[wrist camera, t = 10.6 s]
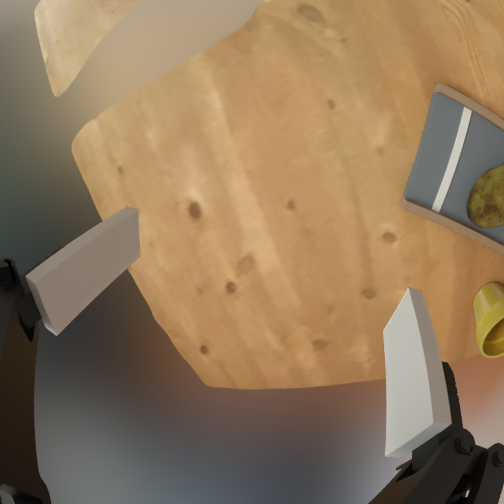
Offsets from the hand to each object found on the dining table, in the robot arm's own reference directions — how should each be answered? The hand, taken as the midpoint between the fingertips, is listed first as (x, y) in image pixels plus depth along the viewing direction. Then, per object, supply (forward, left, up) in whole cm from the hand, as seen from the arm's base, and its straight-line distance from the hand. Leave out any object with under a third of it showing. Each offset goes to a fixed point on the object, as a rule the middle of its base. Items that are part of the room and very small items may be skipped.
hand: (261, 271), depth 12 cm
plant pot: (+11, +37, -27) cm, 47 cm away
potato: (-7, +26, -26) cm, 37 cm away
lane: (-7, +25, -26) cm, 37 cm away
